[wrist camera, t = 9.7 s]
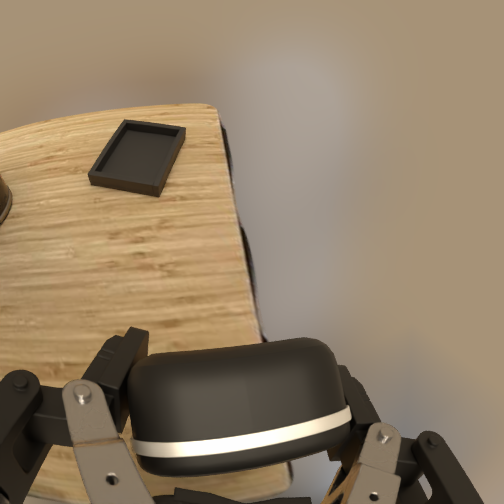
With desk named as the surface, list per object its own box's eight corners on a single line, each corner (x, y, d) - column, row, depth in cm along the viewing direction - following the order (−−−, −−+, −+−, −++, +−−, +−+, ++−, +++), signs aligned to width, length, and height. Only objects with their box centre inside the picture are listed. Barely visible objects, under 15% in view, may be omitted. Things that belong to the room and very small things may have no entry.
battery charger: (264, 366, 18) (352, 315, 8) (274, 421, 16) (379, 435, 7) (155, 377, 16) (104, 339, 7) (162, 435, 15) (122, 482, 5)
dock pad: (90, 184, 36) (87, 174, 34) (125, 129, 42) (124, 119, 41) (159, 197, 37) (158, 186, 35) (185, 138, 44) (186, 127, 42)
